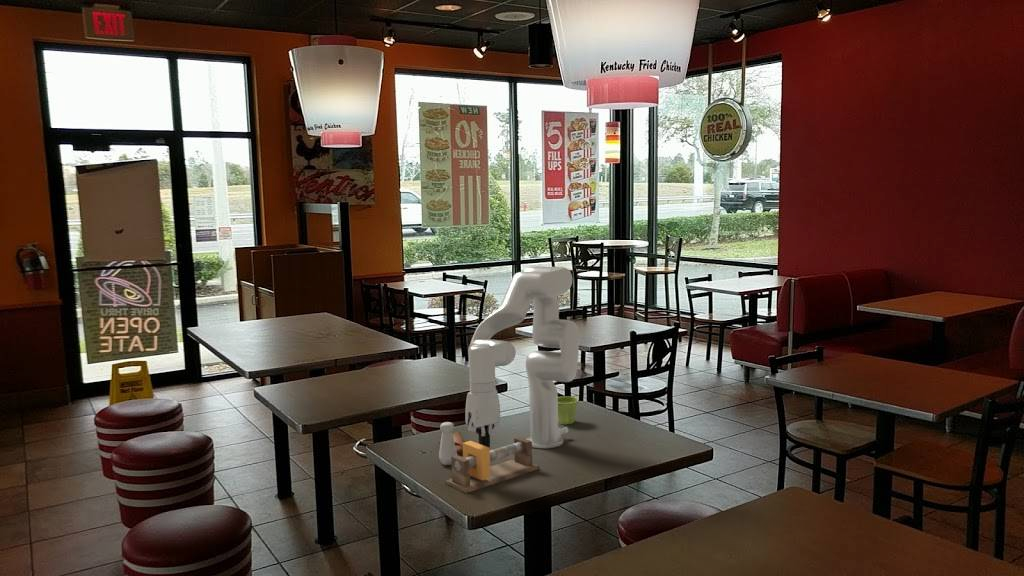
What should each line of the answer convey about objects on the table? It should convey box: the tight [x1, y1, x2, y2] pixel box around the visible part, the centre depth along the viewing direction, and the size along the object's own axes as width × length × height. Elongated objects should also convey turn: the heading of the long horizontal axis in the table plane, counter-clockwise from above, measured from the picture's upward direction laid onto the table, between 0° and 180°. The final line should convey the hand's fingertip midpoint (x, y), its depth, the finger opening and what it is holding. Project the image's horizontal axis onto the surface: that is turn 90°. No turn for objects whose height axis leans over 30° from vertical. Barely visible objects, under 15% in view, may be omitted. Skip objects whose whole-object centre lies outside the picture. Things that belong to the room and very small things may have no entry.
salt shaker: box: [438, 421, 457, 466], centre depth 235 cm, size 6×6×13 cm
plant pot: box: [558, 396, 579, 426], centre depth 276 cm, size 9×9×9 cm
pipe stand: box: [445, 436, 540, 494], centre depth 223 cm, size 28×10×8 cm, turn 130°
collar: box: [463, 440, 491, 480], centre depth 218 cm, size 3×9×9 cm, turn 41°
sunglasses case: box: [438, 430, 465, 456], centre depth 249 cm, size 18×7×7 cm
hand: (484, 447), depth 220 cm, fingers closed
